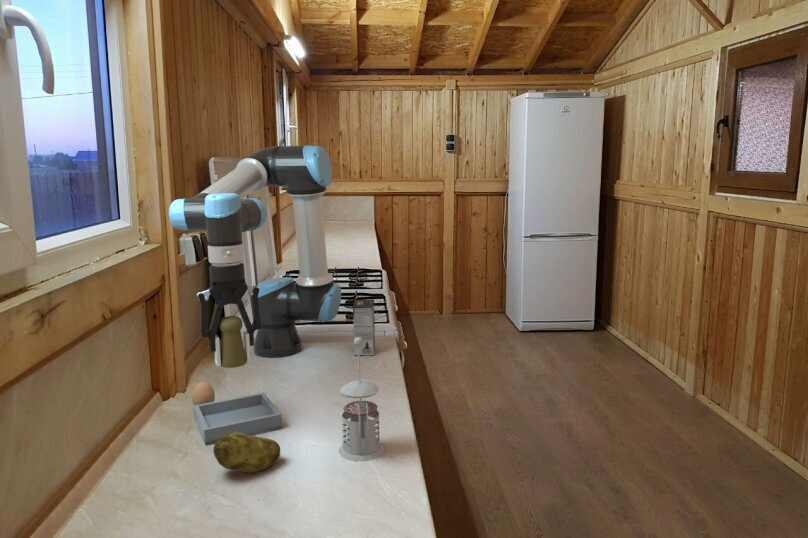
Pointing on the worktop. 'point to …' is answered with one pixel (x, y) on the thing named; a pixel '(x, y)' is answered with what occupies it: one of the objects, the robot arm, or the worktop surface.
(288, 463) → the worktop surface
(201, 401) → the egg
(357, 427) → the french press
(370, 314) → the coffee box
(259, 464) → the potato
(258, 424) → the grey bin
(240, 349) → the cork
